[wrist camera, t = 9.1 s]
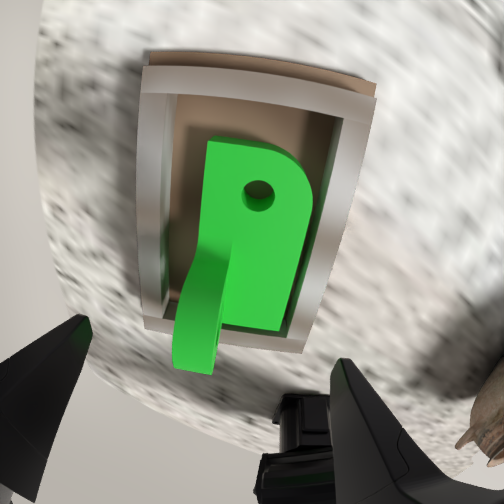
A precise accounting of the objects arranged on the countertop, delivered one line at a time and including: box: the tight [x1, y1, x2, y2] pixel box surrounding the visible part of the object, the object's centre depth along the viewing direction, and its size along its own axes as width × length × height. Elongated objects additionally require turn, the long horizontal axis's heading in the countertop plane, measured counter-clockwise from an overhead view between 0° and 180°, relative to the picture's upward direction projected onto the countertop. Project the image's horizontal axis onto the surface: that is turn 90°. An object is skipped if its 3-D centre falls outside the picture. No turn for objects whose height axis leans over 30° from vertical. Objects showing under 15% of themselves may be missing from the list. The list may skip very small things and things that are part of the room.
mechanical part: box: [172, 135, 313, 375], centre depth 16 cm, size 12×6×8 cm, turn 171°
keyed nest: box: [136, 52, 377, 354], centre depth 19 cm, size 20×13×3 cm, turn 172°
